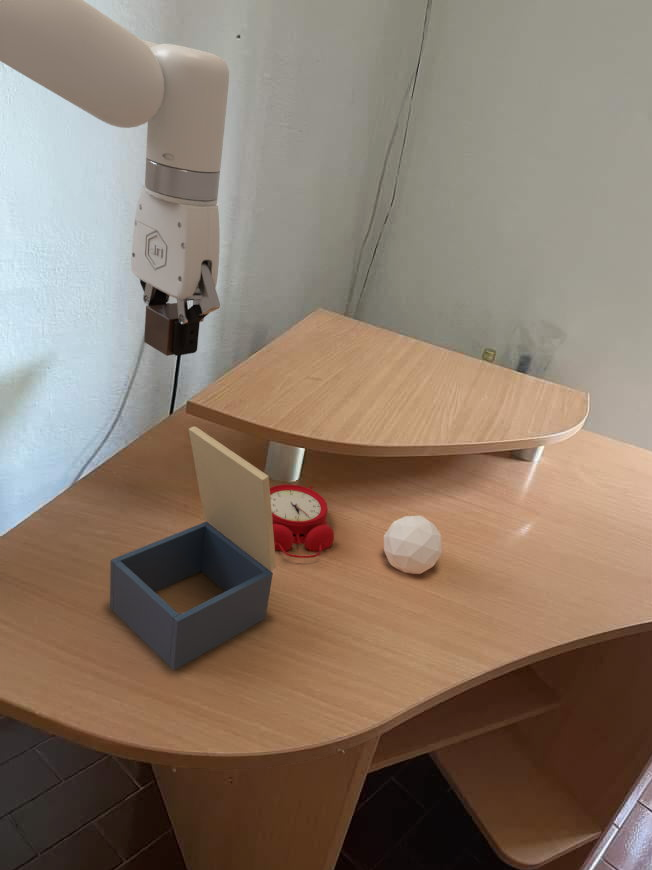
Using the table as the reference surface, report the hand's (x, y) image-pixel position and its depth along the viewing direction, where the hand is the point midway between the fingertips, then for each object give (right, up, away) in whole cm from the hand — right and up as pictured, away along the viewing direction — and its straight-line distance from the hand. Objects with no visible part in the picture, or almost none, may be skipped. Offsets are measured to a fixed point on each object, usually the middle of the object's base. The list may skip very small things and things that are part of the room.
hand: (170, 343), depth 82 cm
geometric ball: (+29, -28, +11) cm, 42 cm away
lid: (+9, -18, -9) cm, 23 cm away
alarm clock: (+13, -24, +12) cm, 30 cm away
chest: (+3, -32, -5) cm, 32 cm away
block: (0, 0, 0) cm, 0 cm away
